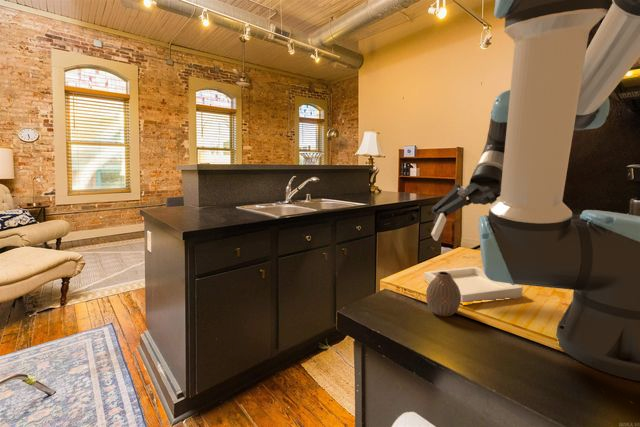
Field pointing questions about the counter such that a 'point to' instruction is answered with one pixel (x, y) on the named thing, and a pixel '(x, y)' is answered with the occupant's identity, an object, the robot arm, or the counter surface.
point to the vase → (443, 295)
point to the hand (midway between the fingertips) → (461, 242)
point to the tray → (478, 285)
